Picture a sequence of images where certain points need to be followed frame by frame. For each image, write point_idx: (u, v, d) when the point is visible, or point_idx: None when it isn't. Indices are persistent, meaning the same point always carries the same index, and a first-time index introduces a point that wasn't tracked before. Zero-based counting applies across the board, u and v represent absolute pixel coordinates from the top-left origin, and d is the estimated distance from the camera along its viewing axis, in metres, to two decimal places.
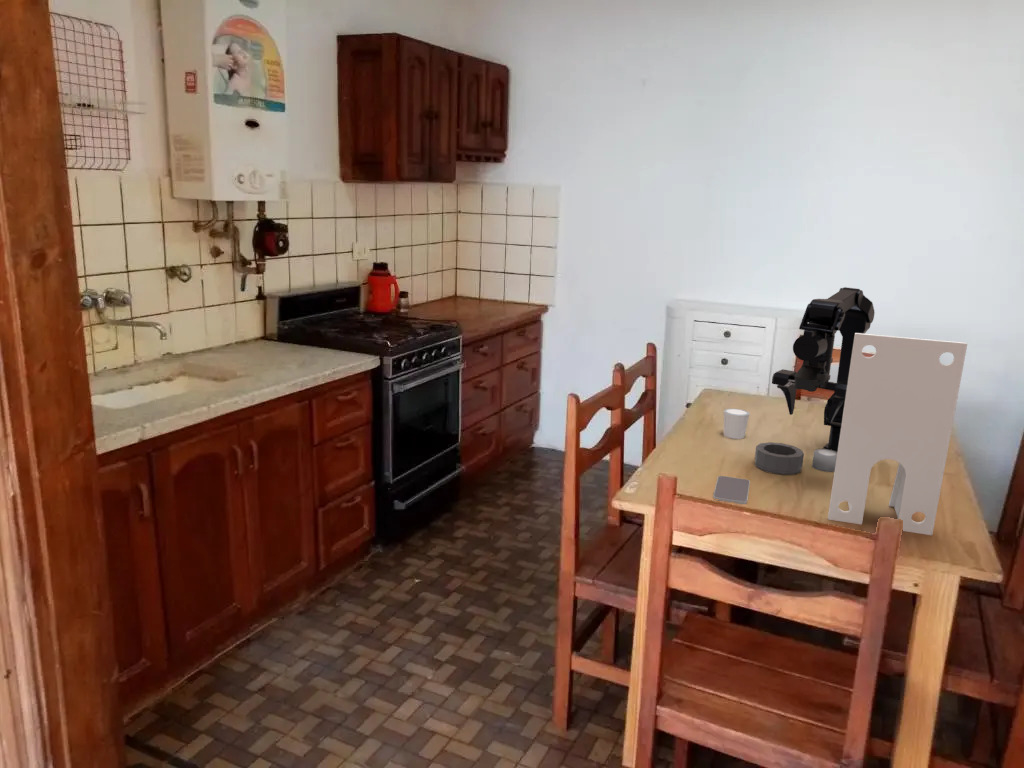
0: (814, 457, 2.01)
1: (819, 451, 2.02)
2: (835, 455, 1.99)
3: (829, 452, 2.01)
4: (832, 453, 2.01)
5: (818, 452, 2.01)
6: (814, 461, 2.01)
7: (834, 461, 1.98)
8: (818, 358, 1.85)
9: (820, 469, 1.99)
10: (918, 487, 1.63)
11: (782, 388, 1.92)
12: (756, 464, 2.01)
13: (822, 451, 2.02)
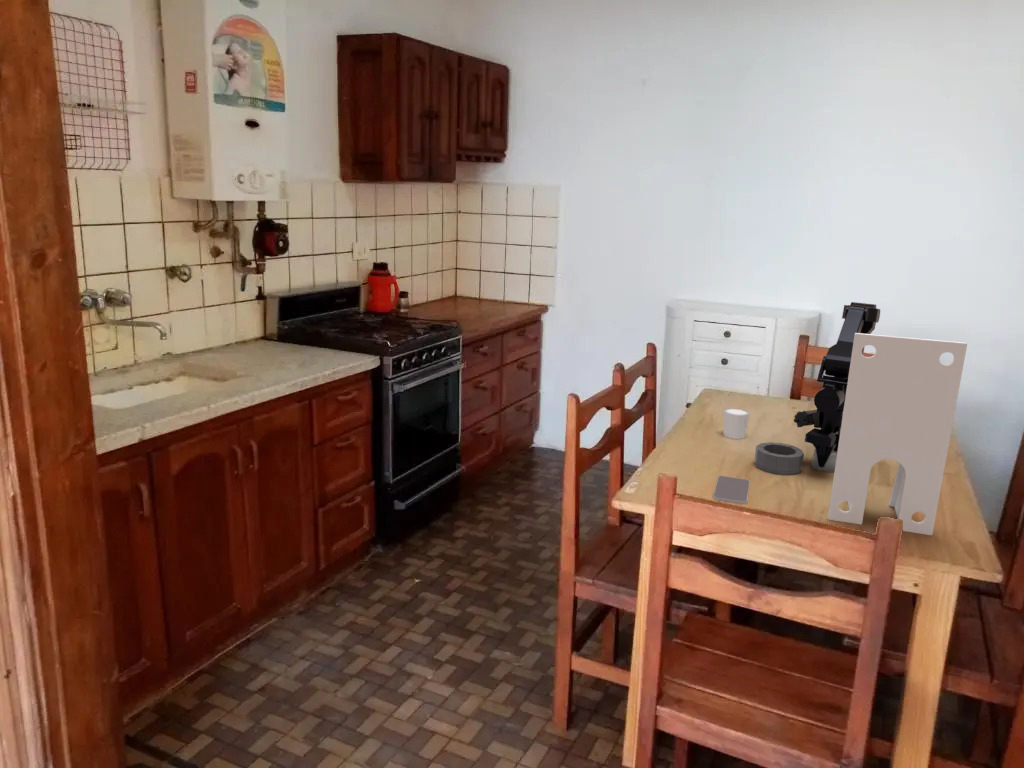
0: (814, 457, 2.01)
1: None
2: (835, 455, 1.99)
3: None
4: (832, 452, 2.01)
5: None
6: (814, 461, 2.01)
7: (834, 461, 1.98)
8: None
9: (820, 469, 1.99)
10: (918, 487, 1.63)
11: None
12: (756, 464, 2.01)
13: None
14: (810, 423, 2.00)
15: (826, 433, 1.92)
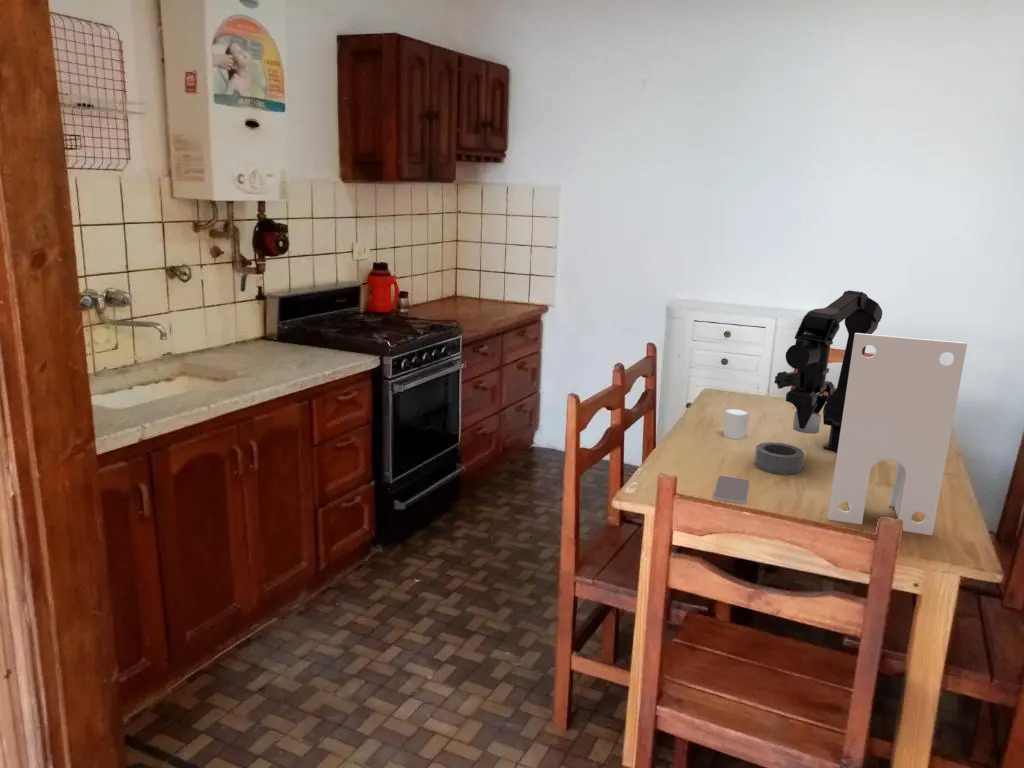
0: (795, 418, 1.97)
1: None
2: (816, 416, 1.96)
3: None
4: (813, 414, 1.97)
5: None
6: (795, 422, 1.97)
7: (815, 422, 1.95)
8: None
9: (801, 431, 1.96)
10: (918, 487, 1.63)
11: None
12: (756, 464, 2.01)
13: None
14: (791, 384, 1.96)
15: (807, 392, 1.89)
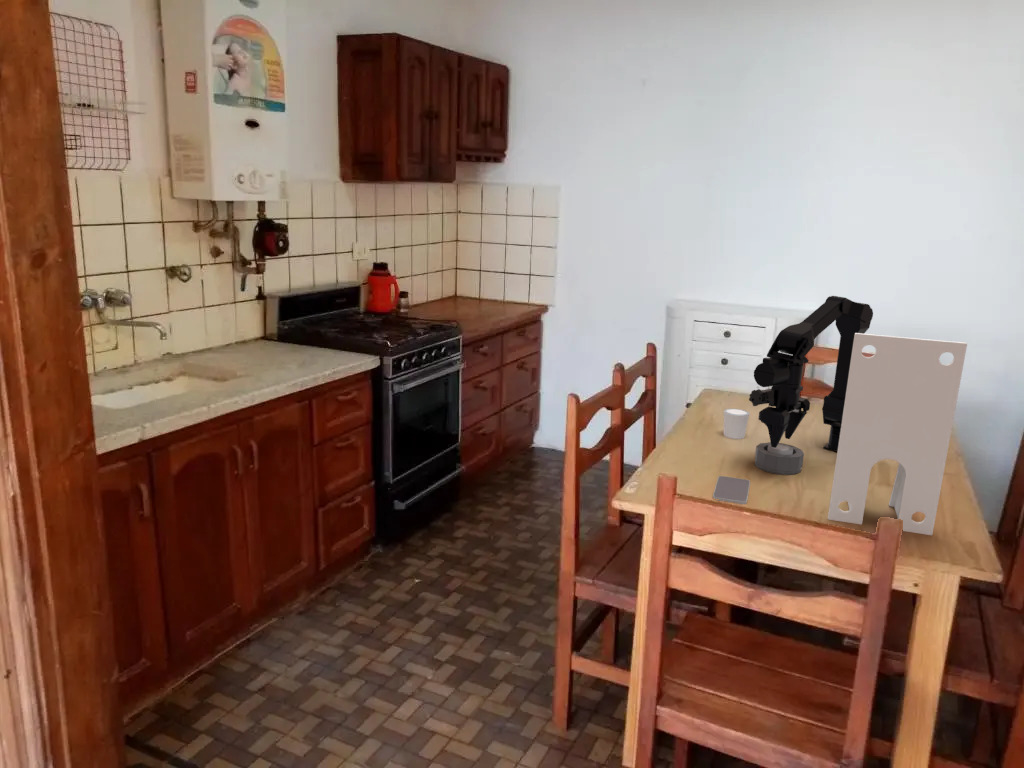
0: None
1: None
2: (788, 450, 1.98)
3: (783, 447, 2.00)
4: (786, 448, 2.00)
5: (772, 447, 2.00)
6: None
7: None
8: None
9: None
10: (918, 487, 1.63)
11: None
12: (756, 464, 2.01)
13: None
14: (765, 402, 1.98)
15: (779, 411, 1.90)
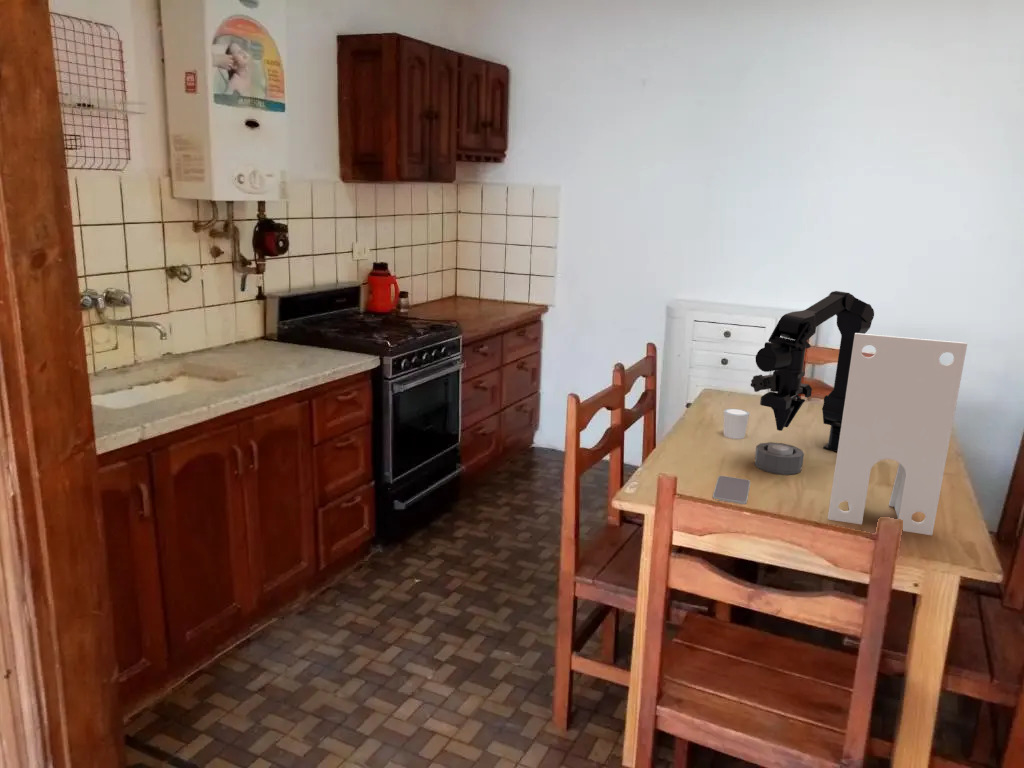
0: None
1: (773, 446, 2.01)
2: (788, 450, 1.98)
3: (783, 447, 2.00)
4: (786, 448, 2.00)
5: (772, 447, 2.00)
6: None
7: None
8: None
9: None
10: (918, 487, 1.63)
11: None
12: (756, 464, 2.01)
13: (776, 446, 2.01)
14: (767, 387, 1.97)
15: (781, 396, 1.89)
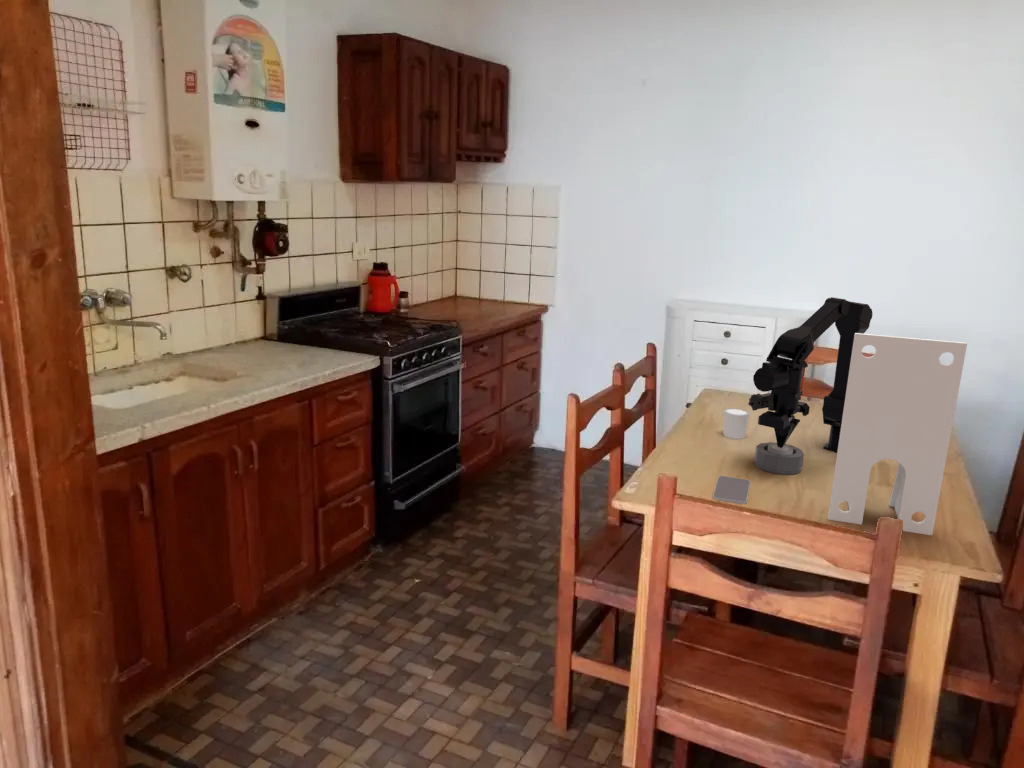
0: None
1: (773, 446, 2.01)
2: (788, 450, 1.98)
3: (783, 447, 2.00)
4: (786, 448, 2.00)
5: (772, 447, 2.00)
6: None
7: None
8: None
9: None
10: (918, 487, 1.63)
11: None
12: (756, 464, 2.01)
13: (776, 446, 2.01)
14: (764, 406, 1.98)
15: (779, 415, 1.90)
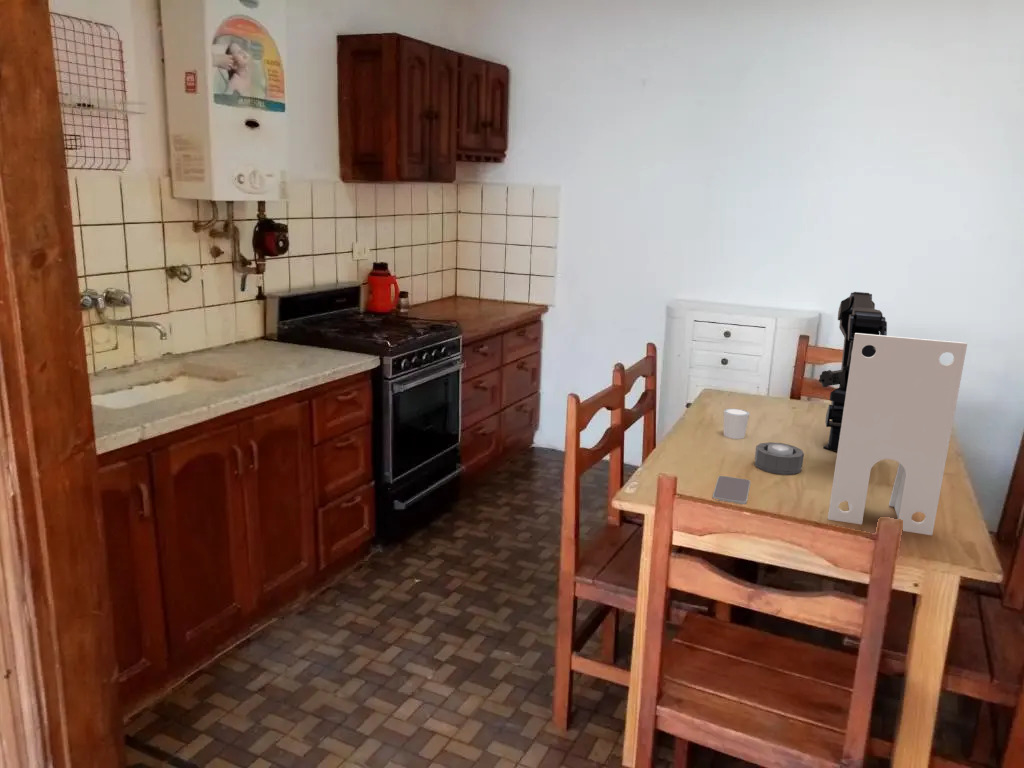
0: None
1: (773, 446, 2.01)
2: (788, 450, 1.98)
3: (783, 447, 2.00)
4: (786, 448, 2.00)
5: (772, 447, 2.00)
6: None
7: None
8: (847, 362, 1.95)
9: None
10: (918, 487, 1.63)
11: None
12: (756, 464, 2.01)
13: (776, 446, 2.01)
14: (836, 383, 1.96)
15: None
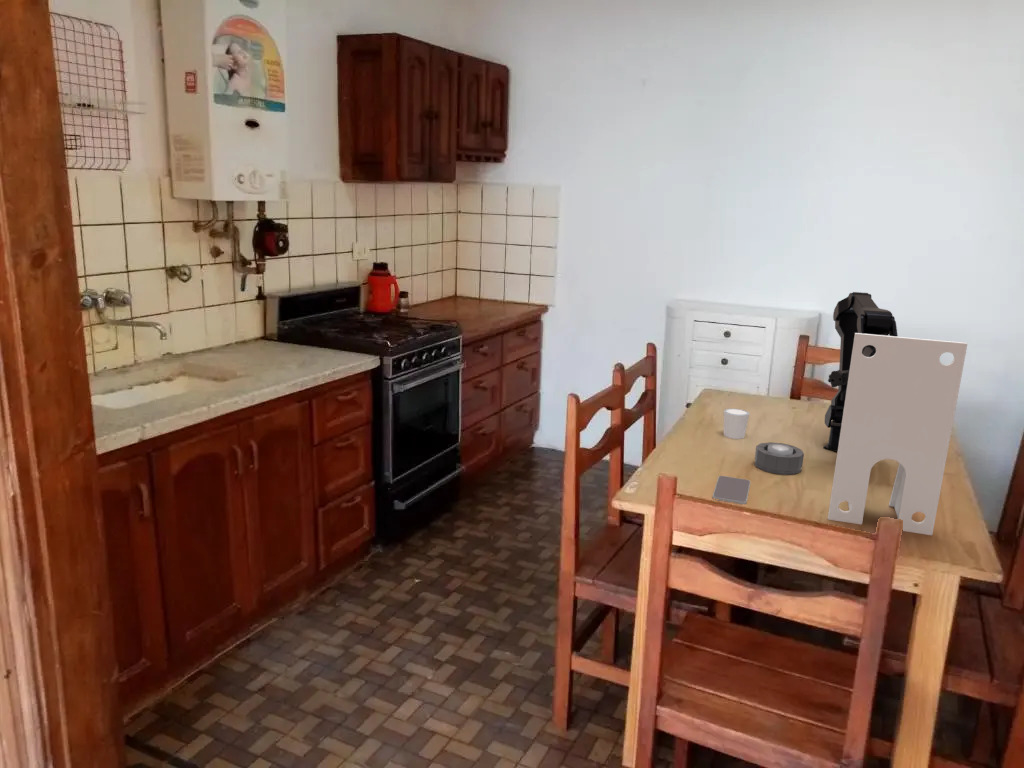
0: None
1: (773, 446, 2.01)
2: (788, 450, 1.98)
3: (783, 447, 2.00)
4: (786, 448, 2.00)
5: (772, 447, 2.00)
6: None
7: None
8: None
9: None
10: (918, 487, 1.63)
11: None
12: (756, 464, 2.01)
13: (776, 446, 2.01)
14: (845, 382, 1.96)
15: None
